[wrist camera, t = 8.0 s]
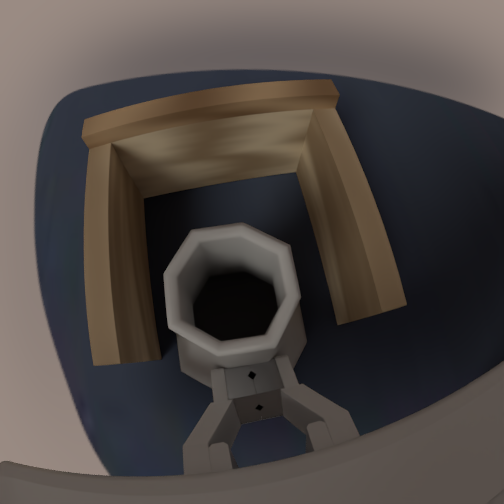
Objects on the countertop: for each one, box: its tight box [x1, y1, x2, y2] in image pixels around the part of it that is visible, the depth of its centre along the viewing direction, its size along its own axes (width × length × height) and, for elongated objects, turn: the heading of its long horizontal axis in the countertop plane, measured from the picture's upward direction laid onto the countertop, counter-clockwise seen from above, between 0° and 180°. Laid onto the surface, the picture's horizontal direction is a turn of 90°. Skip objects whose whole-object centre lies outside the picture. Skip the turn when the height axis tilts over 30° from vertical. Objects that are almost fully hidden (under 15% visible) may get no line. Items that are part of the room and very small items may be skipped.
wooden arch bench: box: [82, 80, 407, 366], centre depth 14 cm, size 12×11×7 cm
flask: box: [163, 222, 307, 388], centre depth 11 cm, size 7×7×10 cm
